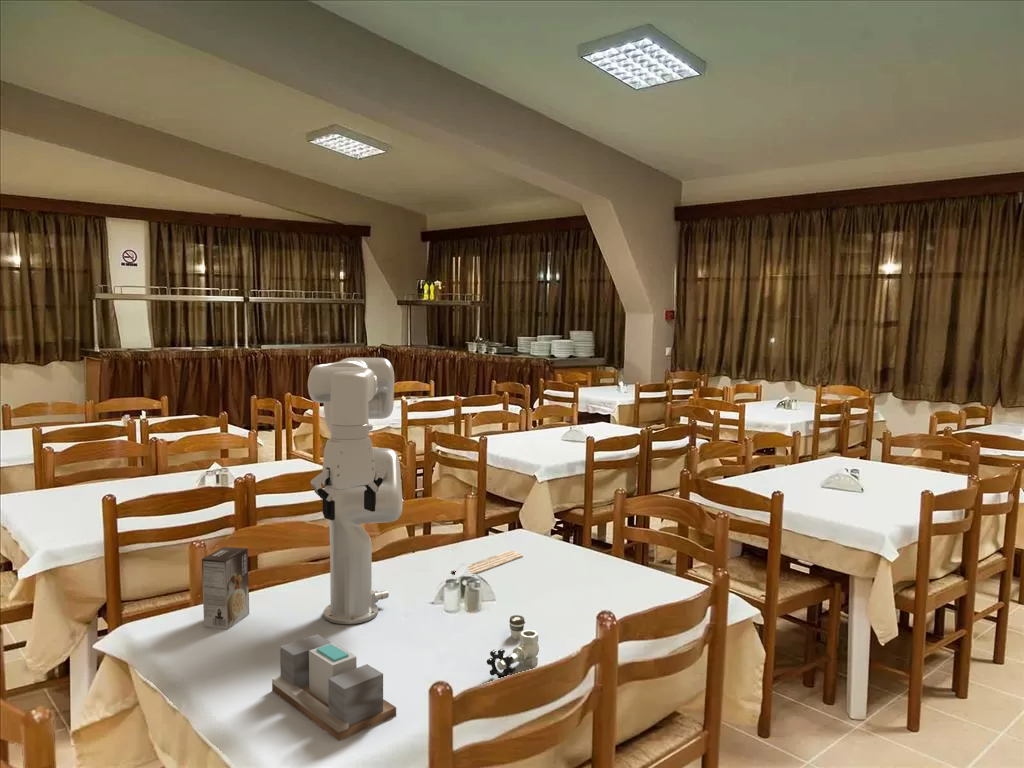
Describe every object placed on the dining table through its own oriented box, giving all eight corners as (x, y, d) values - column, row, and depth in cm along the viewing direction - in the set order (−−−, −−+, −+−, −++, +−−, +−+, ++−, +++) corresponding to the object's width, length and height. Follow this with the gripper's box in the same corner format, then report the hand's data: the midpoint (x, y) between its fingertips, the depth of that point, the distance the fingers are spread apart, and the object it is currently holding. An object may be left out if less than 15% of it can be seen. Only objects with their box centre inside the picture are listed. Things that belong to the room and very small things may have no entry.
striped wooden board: (466, 580, 209) (466, 574, 209) (448, 574, 214) (448, 567, 214) (522, 559, 227) (523, 553, 227) (504, 554, 232) (504, 548, 232)
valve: (521, 655, 165) (486, 677, 155) (522, 625, 164) (486, 645, 154) (547, 665, 161) (512, 687, 151) (548, 634, 160) (513, 655, 150)
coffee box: (225, 611, 184) (224, 545, 183) (250, 614, 183) (249, 547, 181) (202, 627, 175) (201, 558, 174) (228, 630, 174) (227, 560, 172)
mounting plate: (327, 670, 156) (327, 629, 155) (396, 715, 140) (396, 670, 139) (272, 690, 148) (271, 648, 147) (338, 740, 132) (338, 693, 131)
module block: (332, 682, 148) (332, 640, 148) (356, 698, 143) (356, 654, 142) (309, 691, 145) (308, 648, 144) (333, 708, 139) (332, 663, 138)
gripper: (374, 425, 167) (374, 503, 168) (301, 434, 154) (302, 518, 156) (395, 430, 161) (395, 510, 163) (321, 439, 149) (322, 526, 151)
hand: (349, 514), depth 160 cm, fingers open, 9 cm apart
